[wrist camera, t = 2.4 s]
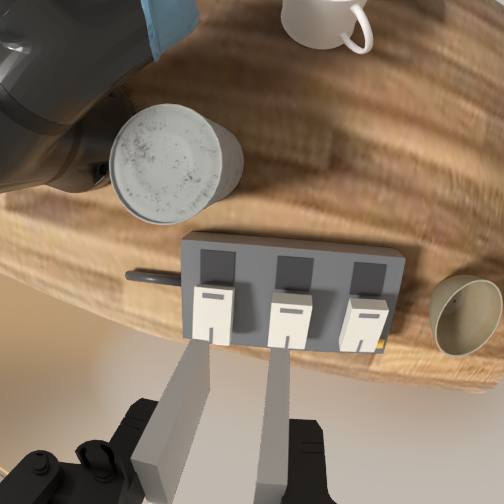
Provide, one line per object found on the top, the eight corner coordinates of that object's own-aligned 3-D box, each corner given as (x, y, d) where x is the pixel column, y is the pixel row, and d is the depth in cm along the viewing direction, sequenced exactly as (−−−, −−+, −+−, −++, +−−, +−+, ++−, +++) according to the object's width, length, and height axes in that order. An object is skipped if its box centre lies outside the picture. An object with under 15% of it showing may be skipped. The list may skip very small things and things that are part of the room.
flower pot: (400, 297, 37) (420, 324, 30) (456, 244, 34) (485, 261, 27) (435, 342, 38) (455, 371, 31) (485, 295, 35) (512, 317, 28)
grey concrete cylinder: (225, 108, 33) (196, 82, 21) (256, 186, 35) (242, 198, 23) (151, 142, 35) (94, 137, 23) (180, 216, 37) (134, 242, 25)
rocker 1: (196, 335, 35) (192, 341, 33) (198, 283, 34) (193, 286, 32) (231, 340, 34) (228, 346, 33) (235, 287, 34) (232, 290, 32)
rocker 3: (338, 340, 35) (340, 351, 33) (349, 297, 32) (352, 309, 30) (371, 341, 34) (374, 352, 33) (385, 300, 31) (389, 311, 30)
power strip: (132, 313, 41) (118, 327, 37) (126, 226, 38) (109, 234, 34) (375, 337, 38) (383, 354, 34) (394, 248, 35) (406, 258, 31)
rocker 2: (268, 335, 35) (267, 346, 34) (272, 292, 32) (271, 303, 31) (304, 338, 35) (304, 349, 33) (311, 295, 32) (312, 306, 30)
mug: (380, 61, 29) (418, 23, 18) (315, 84, 31) (329, 48, 20) (331, -16, 27) (345, -71, 15) (268, 4, 29) (260, -52, 17)
